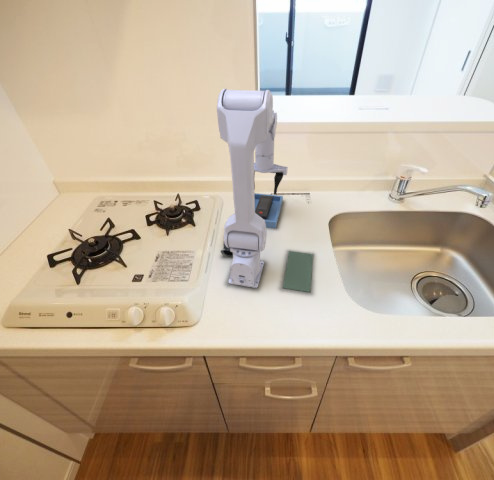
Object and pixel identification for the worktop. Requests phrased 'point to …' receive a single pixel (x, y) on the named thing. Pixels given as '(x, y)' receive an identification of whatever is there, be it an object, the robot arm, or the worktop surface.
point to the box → (274, 209)
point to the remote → (264, 206)
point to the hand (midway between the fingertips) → (264, 191)
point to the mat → (298, 271)
